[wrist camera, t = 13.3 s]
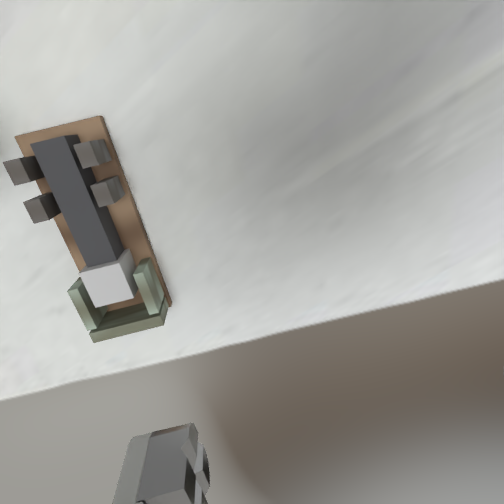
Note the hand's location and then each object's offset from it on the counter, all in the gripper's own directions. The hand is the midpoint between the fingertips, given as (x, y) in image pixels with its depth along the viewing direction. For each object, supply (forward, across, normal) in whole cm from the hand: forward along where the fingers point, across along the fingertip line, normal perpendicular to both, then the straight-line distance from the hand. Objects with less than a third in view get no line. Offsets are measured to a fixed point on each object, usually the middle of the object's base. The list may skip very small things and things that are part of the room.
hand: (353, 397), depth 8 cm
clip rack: (+29, +16, 0) cm, 33 cm away
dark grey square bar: (+28, +16, -2) cm, 32 cm away
